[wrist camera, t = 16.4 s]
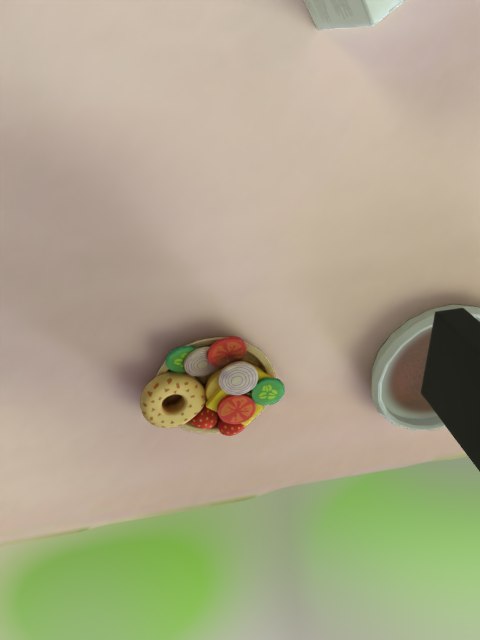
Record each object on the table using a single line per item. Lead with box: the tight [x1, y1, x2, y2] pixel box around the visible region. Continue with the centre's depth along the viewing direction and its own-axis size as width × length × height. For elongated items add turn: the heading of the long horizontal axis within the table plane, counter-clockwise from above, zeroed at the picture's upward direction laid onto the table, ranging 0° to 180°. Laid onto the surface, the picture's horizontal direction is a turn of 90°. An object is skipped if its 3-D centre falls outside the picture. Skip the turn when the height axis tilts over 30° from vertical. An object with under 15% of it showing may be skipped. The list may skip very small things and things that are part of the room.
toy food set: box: [140, 337, 285, 436], centre depth 47 cm, size 13×13×3 cm
